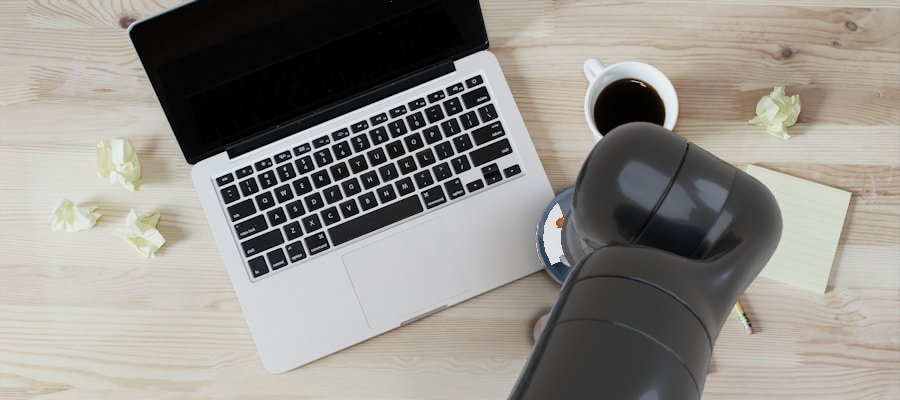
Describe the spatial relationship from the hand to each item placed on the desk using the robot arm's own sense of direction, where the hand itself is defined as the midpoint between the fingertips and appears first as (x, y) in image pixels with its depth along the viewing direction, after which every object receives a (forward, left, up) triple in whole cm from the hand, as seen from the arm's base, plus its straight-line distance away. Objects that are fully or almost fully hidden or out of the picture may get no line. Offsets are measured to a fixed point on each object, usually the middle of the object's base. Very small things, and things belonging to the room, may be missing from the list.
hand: (585, 247), depth 72 cm
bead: (+4, +1, -14) cm, 15 cm away
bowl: (+2, -2, -16) cm, 16 cm away
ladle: (0, 0, -15) cm, 15 cm away
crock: (-9, +2, -16) cm, 18 cm away
